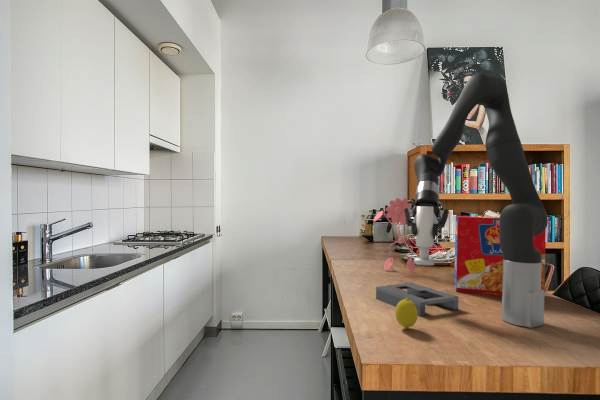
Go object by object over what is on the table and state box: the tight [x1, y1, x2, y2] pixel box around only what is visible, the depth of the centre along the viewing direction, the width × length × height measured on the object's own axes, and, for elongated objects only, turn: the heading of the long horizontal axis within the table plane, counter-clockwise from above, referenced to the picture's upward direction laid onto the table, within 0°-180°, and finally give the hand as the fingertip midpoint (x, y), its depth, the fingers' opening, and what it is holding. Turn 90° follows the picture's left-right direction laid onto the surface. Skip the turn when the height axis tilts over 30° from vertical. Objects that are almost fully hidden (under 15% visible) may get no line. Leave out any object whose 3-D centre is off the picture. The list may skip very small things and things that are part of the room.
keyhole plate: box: [375, 282, 459, 317], centre depth 116 cm, size 20×16×4 cm
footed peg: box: [413, 206, 435, 266], centre depth 112 cm, size 6×6×18 cm
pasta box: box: [453, 215, 547, 297], centre depth 131 cm, size 28×8×28 cm, turn 72°
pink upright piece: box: [373, 197, 416, 278], centre depth 164 cm, size 15×26×35 cm, turn 62°
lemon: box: [395, 298, 418, 330], centre depth 93 cm, size 6×6×8 cm
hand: (424, 235), depth 110 cm, fingers closed on footed peg, 5 cm apart
